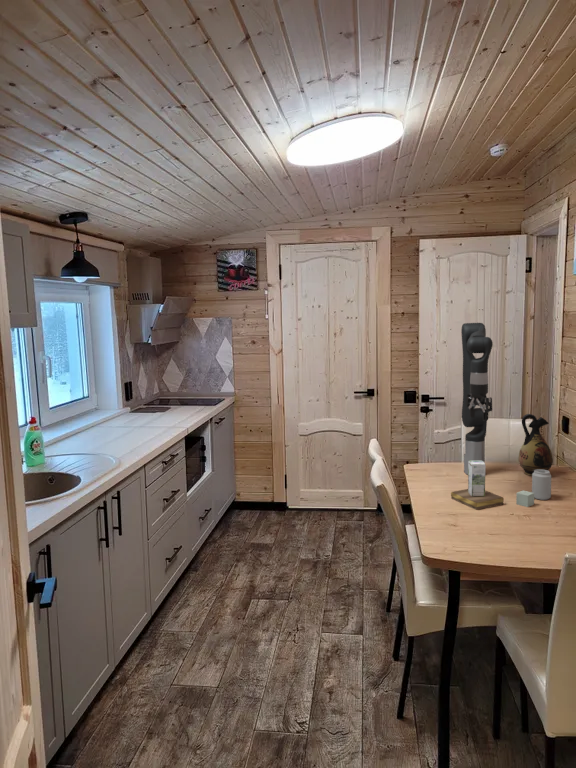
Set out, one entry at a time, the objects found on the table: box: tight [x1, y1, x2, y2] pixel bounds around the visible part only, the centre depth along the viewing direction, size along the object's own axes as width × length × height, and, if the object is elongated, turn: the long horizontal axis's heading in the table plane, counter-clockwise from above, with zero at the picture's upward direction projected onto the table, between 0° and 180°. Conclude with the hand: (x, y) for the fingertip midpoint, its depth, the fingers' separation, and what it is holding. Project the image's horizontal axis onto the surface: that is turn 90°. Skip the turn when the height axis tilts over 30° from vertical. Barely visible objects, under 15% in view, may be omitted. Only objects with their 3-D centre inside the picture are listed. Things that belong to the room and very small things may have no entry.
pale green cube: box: [515, 489, 535, 508], centre depth 232 cm, size 5×5×5 cm
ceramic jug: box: [517, 413, 554, 477], centre depth 272 cm, size 17×15×30 cm
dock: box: [450, 488, 504, 511], centre depth 237 cm, size 16×14×3 cm
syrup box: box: [467, 460, 486, 497], centre depth 236 cm, size 6×6×14 cm
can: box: [531, 469, 552, 501], centre depth 239 cm, size 8×8×12 cm
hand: (478, 418), depth 245 cm, fingers open, 8 cm apart
